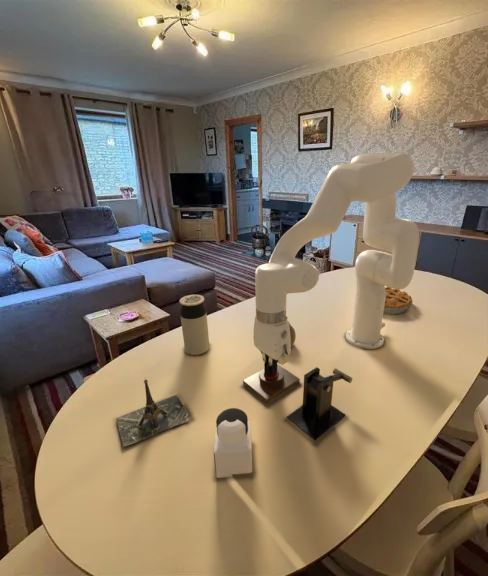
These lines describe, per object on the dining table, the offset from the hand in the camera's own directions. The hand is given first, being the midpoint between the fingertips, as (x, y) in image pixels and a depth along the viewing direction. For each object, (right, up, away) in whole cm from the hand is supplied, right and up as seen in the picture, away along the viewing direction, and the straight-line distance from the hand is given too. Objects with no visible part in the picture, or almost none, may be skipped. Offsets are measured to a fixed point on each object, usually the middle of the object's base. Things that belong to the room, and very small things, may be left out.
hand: (270, 373), depth 83 cm
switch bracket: (+11, -8, -9) cm, 17 cm away
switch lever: (+14, 0, -10) cm, 17 cm away
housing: (0, -4, +2) cm, 4 cm away
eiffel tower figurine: (-28, -9, -9) cm, 31 cm away
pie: (+49, +16, +50) cm, 72 cm away
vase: (+5, +4, +20) cm, 21 cm away
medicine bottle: (-7, -13, -19) cm, 24 cm away
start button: (0, -2, +1) cm, 2 cm away
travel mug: (-24, +3, +19) cm, 31 cm away
